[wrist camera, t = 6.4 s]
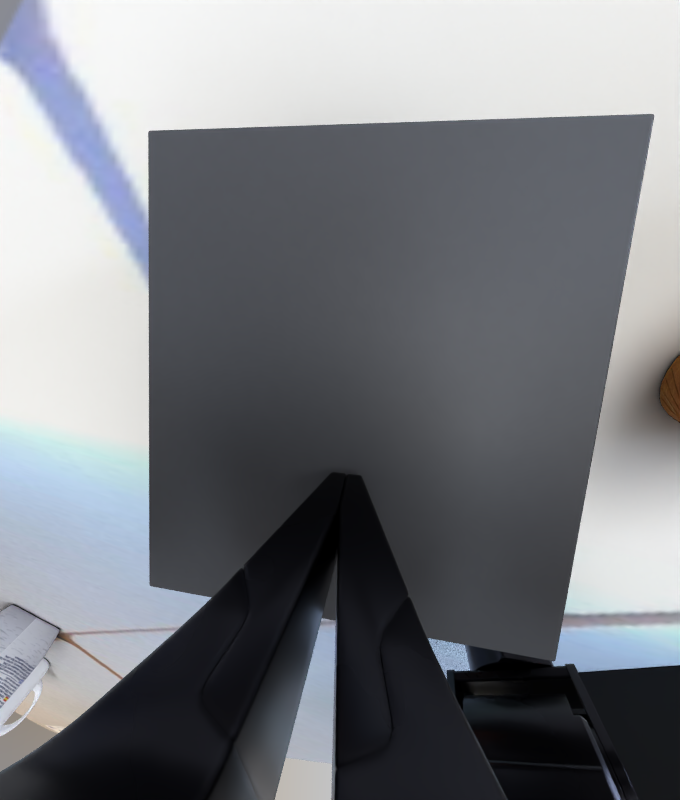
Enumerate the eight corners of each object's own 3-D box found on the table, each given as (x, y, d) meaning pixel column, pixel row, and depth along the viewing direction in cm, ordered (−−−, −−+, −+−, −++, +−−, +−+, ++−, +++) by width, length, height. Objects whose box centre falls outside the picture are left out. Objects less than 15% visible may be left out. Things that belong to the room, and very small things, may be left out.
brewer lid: (538, 635, 8) (556, 663, 8) (166, 569, 10) (148, 586, 9) (623, 142, 7) (656, 112, 6) (169, 153, 8) (147, 129, 8)
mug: (44, 674, 58) (-23, 754, 49) (0, 644, 54) (-83, 726, 44) (71, 676, 56) (8, 761, 46) (28, 645, 51) (-53, 732, 42)
